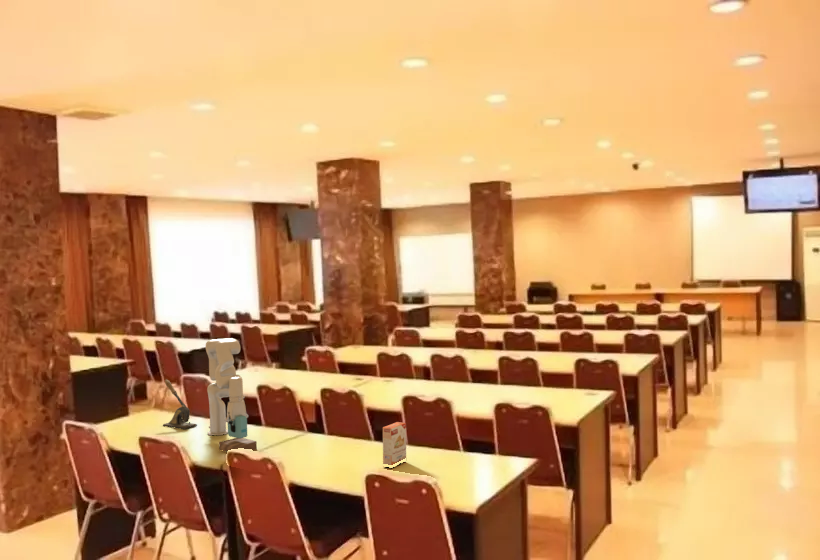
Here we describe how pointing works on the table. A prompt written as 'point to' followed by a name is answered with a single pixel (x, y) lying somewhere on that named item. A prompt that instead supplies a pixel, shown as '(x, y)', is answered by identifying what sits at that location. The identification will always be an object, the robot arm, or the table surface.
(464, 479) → the table surface
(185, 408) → the embossing press
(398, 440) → the cracker box
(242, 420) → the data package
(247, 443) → the walnut block
